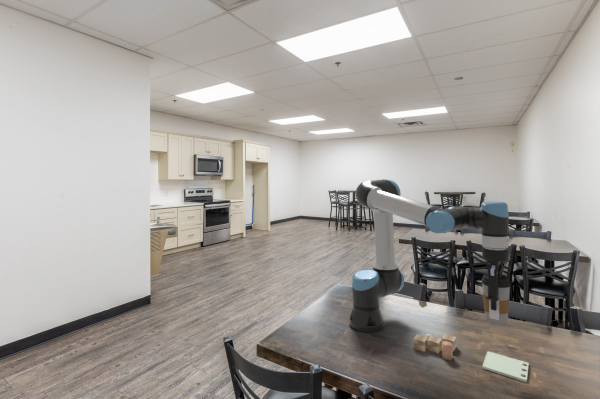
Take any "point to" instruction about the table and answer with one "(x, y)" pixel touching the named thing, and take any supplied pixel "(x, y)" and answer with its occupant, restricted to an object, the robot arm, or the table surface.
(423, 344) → the maple cube
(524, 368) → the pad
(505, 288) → the coffee cup
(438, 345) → the maple cube
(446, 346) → the pink rounded piece
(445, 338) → the maple cube
